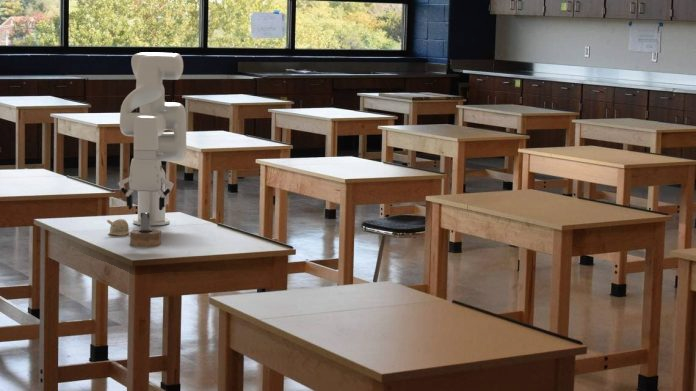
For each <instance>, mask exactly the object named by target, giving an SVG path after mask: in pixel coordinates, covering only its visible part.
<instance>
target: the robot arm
mask: <svg viewBox="0 0 696 391" xmlns="http://www.w3.org/2000/svg"><path fill="white" fill-rule="evenodd" d="M130 62H131V68H132V72H133V75H134V78H135V80H136V83H135V89H134V90H132V91H131V92H130V93H128V94H127V96H126V97H125V98H124V100H123V101H122V104H121V106H120V113H119V114H120V116H119V129H120V130H119V131H120V132H121V134H122V135H123V136H126V137H133V158H132V159H131V162H130V167H129V176H128V177H126V178H124V179H121V180H120V181H118V182H117V185H118V187H119V189H120V190H121V193H123V194H124V195H125V197H126V207H128V210H132V209H133V207H134V206H133V203H134V202H133V198H134V197H133V195H132V194H133V192H137V218H134V219H133V224H134V225H137V226H139V225H140V223H141V212H150V227H151V226H155V227H156V226H164V225H168V224H170V223H171V221H170V219H169V218H166V196H167V195H168V194H169V193H170V192H171V191H172V189H173V187H174V185H175V184H174V183H173V182H171V181H170V180H168V179H166V172H165V170H164V169H163V165H162V162H180V161H183V160H184V159H185V158H186V154H187V112H186V108H185V106H184V105H183V104H182V103H180V102H167V101H166V100H165V90H166V89H165V87H164V84H163V80H170V81H171V80H172V81H173V80H177V81H178V80H180V79H181V77H182V74H183V72H184V60H183V57H182V56H181V54H180V53H176V52H175V53H173V52H147V51H146V52H139V53H138V52H137V53H135V54H133V55H132V56H131V61H130ZM138 108H139V112H133V111H134V110H135V109H138ZM166 130H167V131H172V133H164V132H165V131H166ZM127 183H128V187H129V188H128V189H127V188H126V187H125V184H127ZM166 186H167V187H166Z"/></svg>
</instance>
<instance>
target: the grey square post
mask: <svg viewBox="0 0 696 391" xmlns="http://www.w3.org/2000/svg"><path fill="white" fill-rule="evenodd" d="M139 228H140V232H141V233H149V232H150V229H151V226H150V212H141V223H140V227H139Z"/></svg>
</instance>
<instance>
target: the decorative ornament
mask: <svg viewBox="0 0 696 391" xmlns="http://www.w3.org/2000/svg"><path fill="white" fill-rule="evenodd" d="M106 222H107V223H108V224H109V225H110V227H109V233H108V234H107V235H114V236H119V237H122V236H126V235H129V234H130V230H129V229H130V228H129V224H128V222H127V220H126V219H123V218H118V219H114V220H113V221H111V220H110V219H106Z"/></svg>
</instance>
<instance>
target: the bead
mask: <svg viewBox="0 0 696 391" xmlns="http://www.w3.org/2000/svg"><path fill="white" fill-rule="evenodd" d="M129 234H130V235H129V237H130V238H129V241H130V242H129V245H130V246H133V247H134V246H135V247H149V248H150V247H157V246H160V245H161V243H162V230H159V229H155V228H152V229H151V228H150V232H149V233H141V232H140V229H133V230H131V231H129Z"/></svg>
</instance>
